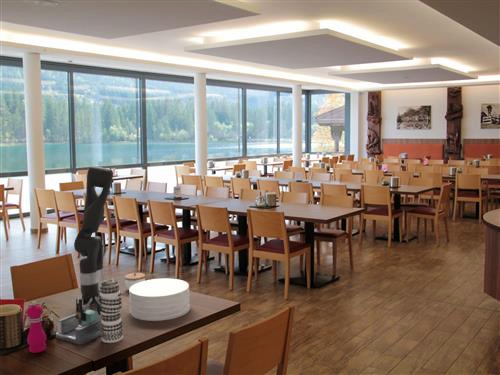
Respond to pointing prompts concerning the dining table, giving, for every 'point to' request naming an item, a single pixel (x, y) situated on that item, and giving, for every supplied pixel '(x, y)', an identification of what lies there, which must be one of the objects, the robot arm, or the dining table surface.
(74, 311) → the bread roll
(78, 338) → the vise
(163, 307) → the plate stack
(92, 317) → the teal block
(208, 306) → the dining table surface
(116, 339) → the white patterned cylinder
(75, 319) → the bar
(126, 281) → the lidded jar
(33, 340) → the pepper mill
